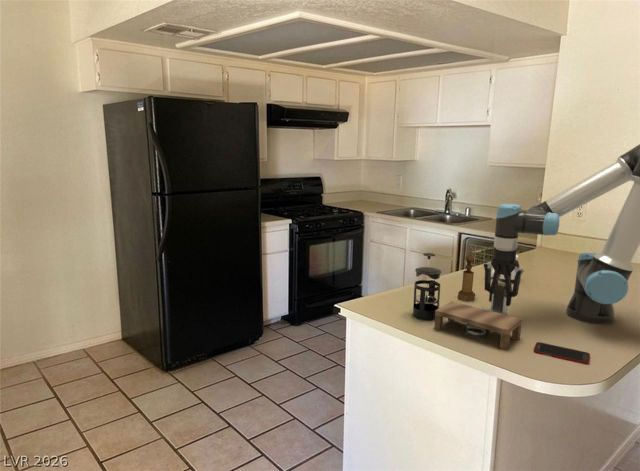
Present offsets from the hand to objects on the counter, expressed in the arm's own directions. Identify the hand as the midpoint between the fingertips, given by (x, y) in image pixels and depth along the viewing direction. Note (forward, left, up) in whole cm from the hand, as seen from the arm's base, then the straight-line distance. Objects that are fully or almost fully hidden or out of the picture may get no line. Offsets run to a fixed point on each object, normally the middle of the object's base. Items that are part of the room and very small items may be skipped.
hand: (498, 312), depth 168 cm
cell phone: (-25, +17, -2) cm, 30 cm away
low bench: (0, +20, -2) cm, 20 cm away
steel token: (0, +20, -2) cm, 20 cm away
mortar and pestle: (+17, -10, -2) cm, 20 cm away
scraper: (0, +8, -2) cm, 8 cm away
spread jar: (+16, -46, -2) cm, 49 cm away
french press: (+20, +17, -2) cm, 26 cm away
